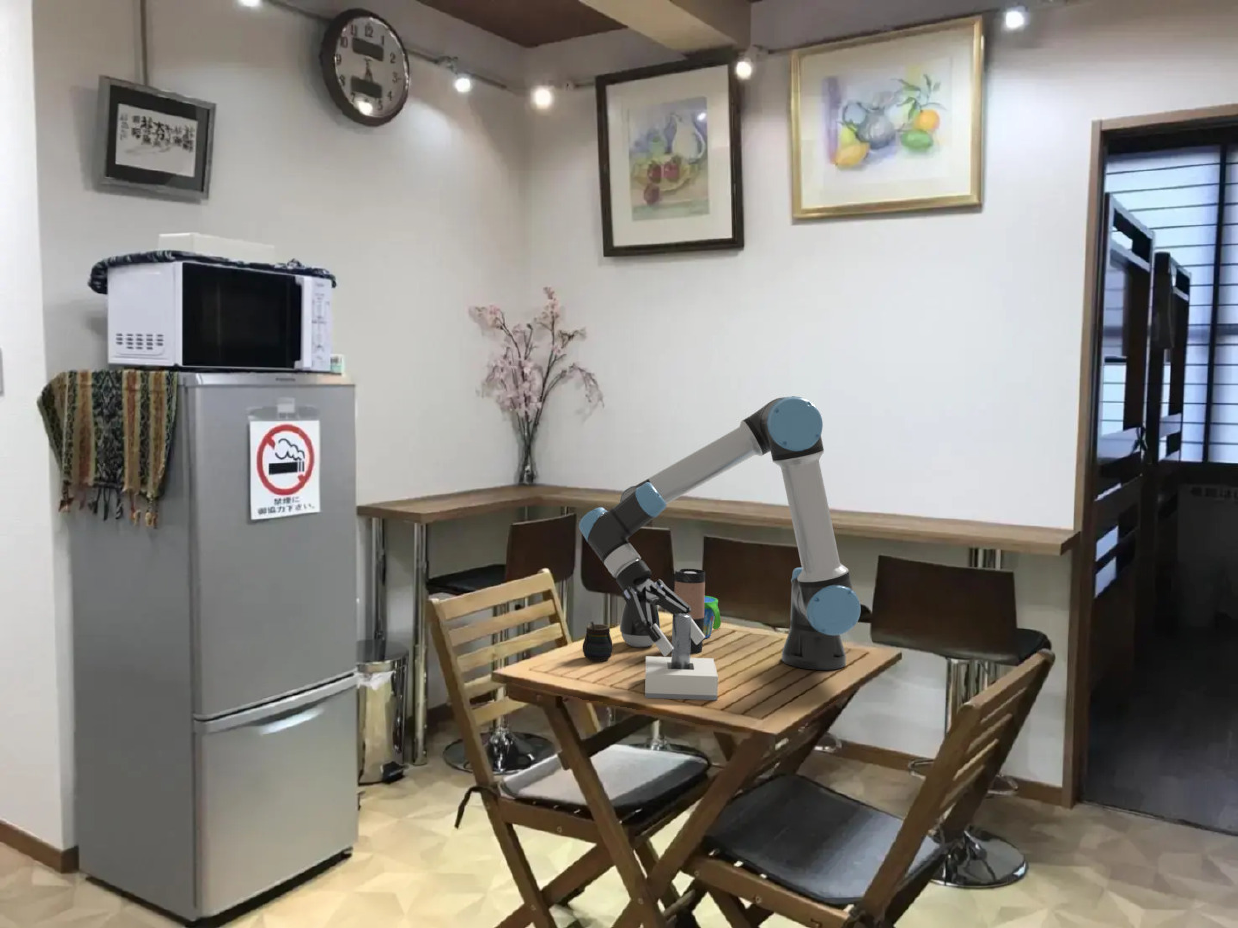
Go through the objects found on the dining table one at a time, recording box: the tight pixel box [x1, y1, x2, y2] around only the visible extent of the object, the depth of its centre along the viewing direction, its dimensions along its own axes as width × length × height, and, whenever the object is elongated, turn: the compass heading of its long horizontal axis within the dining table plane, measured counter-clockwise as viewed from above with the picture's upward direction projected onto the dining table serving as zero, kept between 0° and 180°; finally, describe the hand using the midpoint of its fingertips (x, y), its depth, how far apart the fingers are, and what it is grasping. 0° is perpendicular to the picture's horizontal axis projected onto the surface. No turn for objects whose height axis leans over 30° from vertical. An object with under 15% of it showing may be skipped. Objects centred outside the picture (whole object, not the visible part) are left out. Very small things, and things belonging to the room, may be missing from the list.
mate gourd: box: [582, 621, 614, 662], centre depth 239 cm, size 7×8×10 cm
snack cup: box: [703, 595, 722, 639], centre depth 266 cm, size 16×10×10 cm
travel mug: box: [673, 568, 706, 655], centre depth 250 cm, size 8×8×20 cm
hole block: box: [644, 655, 719, 701], centre depth 215 cm, size 15×15×5 cm
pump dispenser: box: [619, 602, 661, 648], centre depth 254 cm, size 10×10×15 cm
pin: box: [670, 613, 691, 670], centre depth 215 cm, size 4×4×15 cm
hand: (685, 646), depth 214 cm, fingers open, 13 cm apart
